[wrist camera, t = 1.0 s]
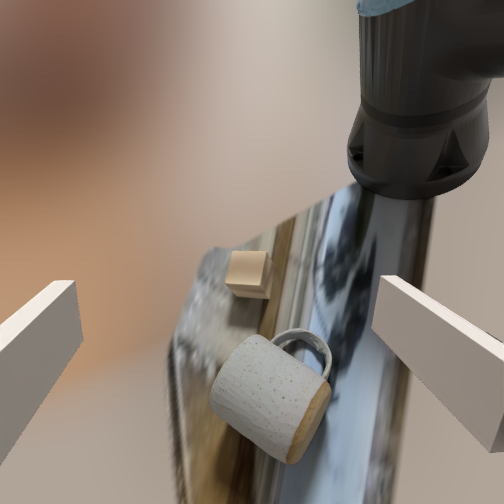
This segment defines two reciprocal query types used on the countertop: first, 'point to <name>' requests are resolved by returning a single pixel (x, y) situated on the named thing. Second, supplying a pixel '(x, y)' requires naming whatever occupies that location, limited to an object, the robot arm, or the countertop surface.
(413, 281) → the countertop surface
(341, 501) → the countertop surface
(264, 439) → the ceramic mug
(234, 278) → the birch block
